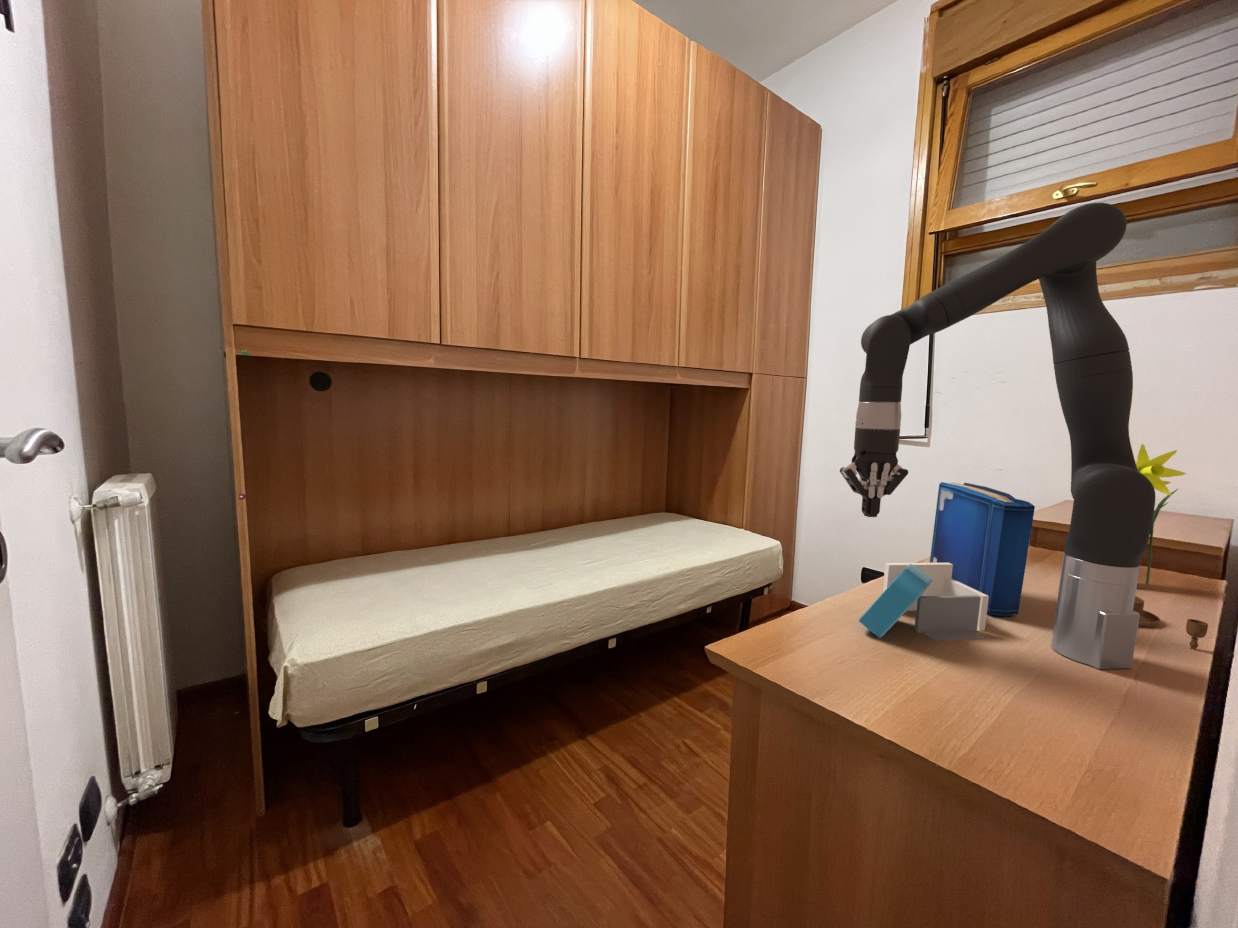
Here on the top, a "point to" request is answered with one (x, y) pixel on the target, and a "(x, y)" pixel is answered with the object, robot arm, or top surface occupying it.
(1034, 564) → the top surface
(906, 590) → the data package
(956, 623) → the shelf nook
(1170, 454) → the daffodil flowers
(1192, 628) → the place setting
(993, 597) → the book
